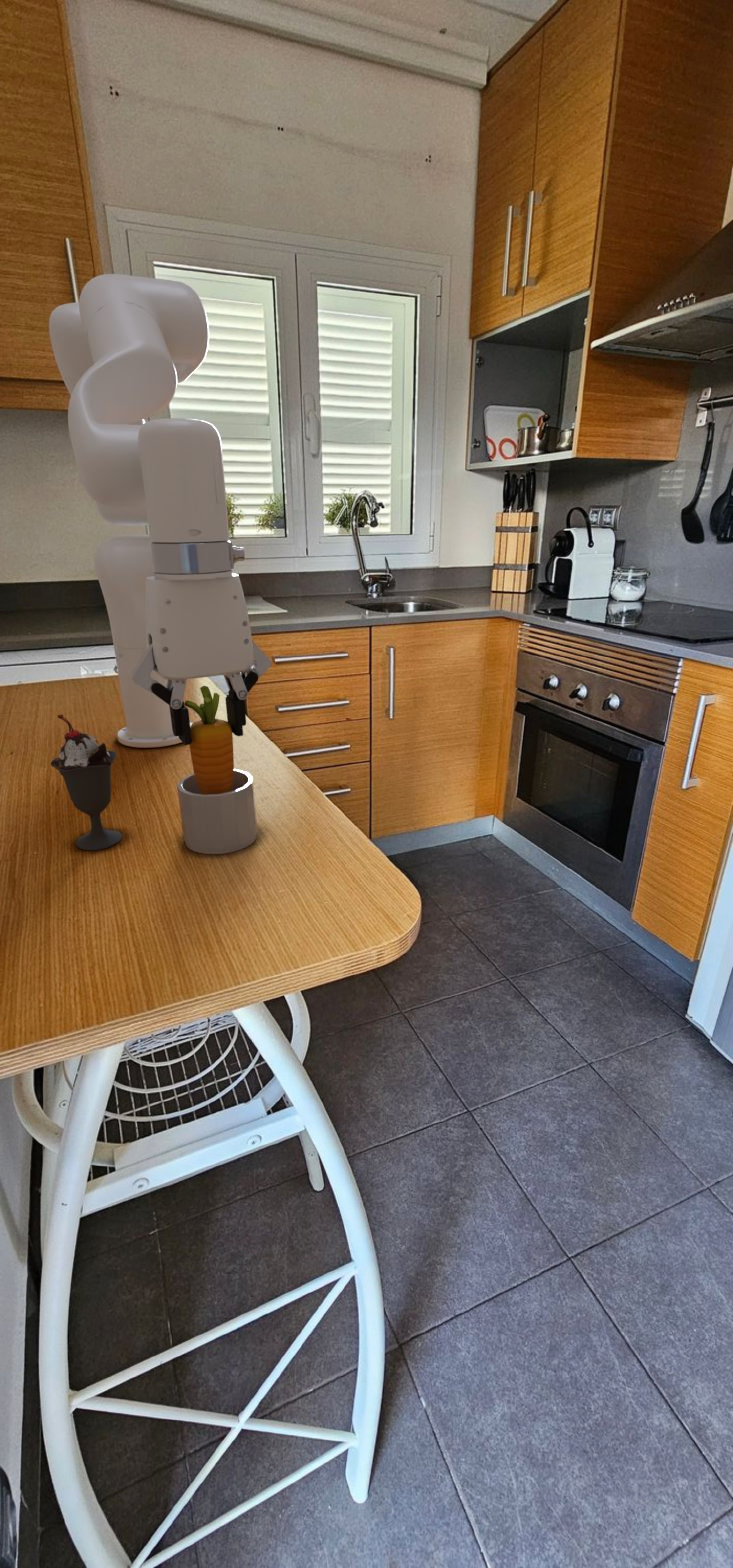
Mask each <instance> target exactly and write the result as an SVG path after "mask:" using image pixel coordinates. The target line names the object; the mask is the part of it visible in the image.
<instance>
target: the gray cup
mask: <svg viewBox="0 0 733 1568" xmlns="http://www.w3.org/2000/svg"><path fill="white" fill-rule="evenodd" d="M176 789H177V797H178V804H179V811H180V813H179V814H180V819H181V828H182V836H183V839H184V844H185V846H186V847H187V848H188V849H189V850H191V851H192V852H196V853H198V854H202V855H225V854H230V853H235V852H238V851H241V850H243V849H245V848H247V847H249V846H250V845H252V844H253V843H254V842H256V840H257V838H258V823H257V810H256V809H257V808H256V797H255V796H256V795H255V785H254V777H253V776H252V775H251V774H250V773H249V772H248V771H244V770H241V769H236V768H234V773H233V784H232V792H227V793H222V794H209V795H203V794H201V793H200V790H199V787H198V784H197V781H196V777H195V774H194V772H193V773H191V774H187V775H186V776H184V777H183V778H181V779H180V780H179V781H178V783H177V785H176Z"/></svg>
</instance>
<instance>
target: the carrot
mask: <svg viewBox="0 0 733 1568" xmlns="http://www.w3.org/2000/svg"><path fill="white" fill-rule="evenodd" d="M199 689H200V692H201V696H202V698H203V703H200V704H199V705H198V704H197V703H196V702H194V701H192V700H184V706H185V707H186V708H188V709H189V708H190V709H192V710H193V711H194V712H195V713H196V714H197V715H198V716H199V718H200V720H198V721H195V722H192V723H193V724H192V725H191V726H190V729H191V738H192V743H190V745H189V752H190V758H191V764H192V769H193V773H194V774H195V777H196V781H197V784H198V787H199V790H200V793H201V794H203V795H209V794H222V793H227V792H232V784H233V773H234V769H235V765H234V764H235V763H234V762H235V761H234V760H235V759H234V758H235V757H234V738H233V733H232V728H231V725H230V724H229V723H228V720H227V721H226V720H224V719H221V718H220V719H219V718H216V715H217V712H218V708H219V704H220V694H219V693H218V692H213V695H212V693H211V690H210V688H209V686H207V685H202V686H200V687H199Z"/></svg>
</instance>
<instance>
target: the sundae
mask: <svg viewBox="0 0 733 1568" xmlns="http://www.w3.org/2000/svg"><path fill="white" fill-rule="evenodd" d="M57 718H58V719H60V720H61V721H63V722H65V723H66V724H67V727H68V732H67V733H65V734H64V735H63V736H64V740H65V743H64V744H63V745H62V746H61V747H60V750H59V754H58V755H59V756H58V757H56V758H54V759H52V760H51V762H50V766H51V767H53V768H55V769H56V770H57V771H59V773H60V775H61V776H62V778H63V781H64V784H65V786H66V790H67V793H68V795H69V798H70V800H71V802H72V805H73V806H74V808H76V809H77V810H78V811H79V812H80V813H83V814H85V815H86V816H87V815H88V816H89V821H90V832H87V833H85V834H84V835H82V836H80V837H79V838H78V839H77V840H76V843H75V844H76V845H75V846H76V847H77V848H79V849H81V850H83V851H100V850H104V849H108V848H111V847H114V846H115V845H117V844H118V843H120V842H121V840H122V838H123V835H122V833H121V832H119V831H118V830H114V829H105V827H104V825H103V822H102V817H101V813H102V812H103V811H104V810H106V809H107V807H108V805H110V802H111V801H112V764H113V763H114V762H115V760H116V758H117V752H116V751H114V750H107V745H106V743H104V742H103V743H101V744H99V741H98V740H97V739H96V738H94V737H93V736H92V735H90V734H87V733H82V732H80V731H79V730H77V729H74V728H73V726H72V724H71V723H70V721H69V720H68V719H67V718H66V717H64V714H58V715H57Z"/></svg>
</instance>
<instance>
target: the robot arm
mask: <svg viewBox="0 0 733 1568" xmlns="http://www.w3.org/2000/svg"><path fill="white" fill-rule="evenodd" d="M48 330H49V331H48V332H49V338H50V343H51V347H52V348H51V349H52V352H53V355H54V359H55V363H56V366H57V368H58V371H59V374H60V376H61V377H62V380H63V382H64V385H65V387H66V389H67V391H68V393H69V396H70V398H69V402H68V406H67V407H68V408H67V423H68V424H67V427H68V433H69V439H70V443H71V447H72V448H71V449H72V451H73V455H74V460H75V464H76V468H77V472H78V475H79V478H80V481H81V483H82V486H83V488H84V490H85V492H86V493H87V495H88V496H89V497H90V498H91V499H92V500H93V501H94V502H95V503H96V506H97V510H98V512H99V515H100V516H101V518H102V519H103V520H105V522H107V523H109V524H113V525H117V526H148V534H126V535H116V536H112V537H109V538H107V539H104V540H103V541H101V542H100V543H99V544H97V547H96V549H95V551H94V555H93V556H94V557H93V561H94V568H95V572H96V576H97V579H98V582H99V586H100V590H101V593H102V596H103V599H104V603H105V606H106V611H107V615H108V620H109V627H110V632H111V637H112V644H113V649H114V650H113V651H114V656H115V662H116V663H115V664H116V668H117V675H118V684H119V689H120V695H121V702H122V709H123V716H124V722H125V726H124V727H122V728H121V729H120V730H118V732H117V741H118V743H120V744H121V745H123V746H127V747H129V748H130V747H131V748H137V749H138V748H139V749H140V748H141V749H142V748H144V749H145V748H146V749H148V748H151V749H152V748H162V747H168V746H173V745H177V744H181V743H182V744H184V746H188V745H189V746H190V743H192V738H191V729H190V726H191V725H192V724H193V723H194V722H191V720H190V712H189V707H187V706H185V705H184V703H185V700H184V696H185V690H186V684H187V680H194V679H201V678H202V679H203V678H210V677H219V676H223V678H224V680H225V683H226V685H227V686H226V687H227V688H228V692H227V693H228V694H226V696H225V709H226V719H227V722H228V723H229V724H230V725H231V728H232V735H234V736H236V737H243V736H244V729H243V727H244V726H246V725H247V718H246V717H247V715H246V705H245V704H246V703H245V700H246V699H247V698H248V696H249V692H250V691H251V690H252V688H254V686H255V685H256V684H257V682H258V681H259V679H260V678H261V677H262V676H263V675H264V674H265V673H266V672H267V671H269V669H270V668H271V667H272V664H273V662H272V660H271V659H270V658H269V657H268V656H267V654H266V653H264V651H262V649H261V648H260V647H259V645H257V643H256V642H255V641H254V640H253V636H252V629H251V624H250V618H249V617H250V616H249V613H248V608H247V603H246V597H245V595H244V594H245V593H244V590H243V585H242V582H241V579H240V576H239V574H238V573H234V572H233V570H234V569H235V567H234V566H235V563H236V564H237V563H238V562H243V561H245V558H246V557H245V550H244V547H241V546H239V547H237V546H236V545H233V542H232V541H230V530H229V529H230V528H229V517H228V506H227V505H228V504H227V492H226V480H225V469H224V458H223V447H222V446H223V445H222V438H221V435H220V433H219V431H218V429H217V428H216V427H215V426H214V424H212V422H211V423H210V422H208V421H206V420H200V419H195V418H184V417H183V418H182V417H181V418H180V417H167V418H165V417H164V418H157V419H156V418H155V419H150V420H148V421H145V420H147V419H149V418H152V417H153V416H156V415H157V414H159V413H161V412H162V411H164V410H165V409H166V408H167V407H168V406H169V405H170V403H171V402H172V401H173V399H174V396H175V393H176V390H177V385H178V384H181V383H184V382H185V381H186V380H187V379H189V378H190V376H191V375H192V374H193V373H195V372H196V371H197V370H198V369H199V367H200V366H201V365H202V364H203V362H204V361H205V359H206V356H207V353H208V349H209V343H210V342H209V341H210V329H209V320H208V316H207V312H206V309H205V307H204V304H203V301H202V300H201V298H200V297H199V295H198V294H197V292H196V291H195V290H194V289H193V288H192V287H191V286H190V285H188V284H186V283H184V282H182V281H177V280H172V279H165V278H164V279H163V278H155V277H146V276H139V275H131V274H123V273H104V274H100V275H97V276H95V277H93V278H91V279H90V280H88V281H87V282H86V283H85V285H84V286H83V287H82V290H81V292H80V295H79V300H78V302H69V303H64V304H60V305H58V306H57V307H56V308H54V309H53V310H52V311H51V313H50V314H49V320H48Z"/></svg>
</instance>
